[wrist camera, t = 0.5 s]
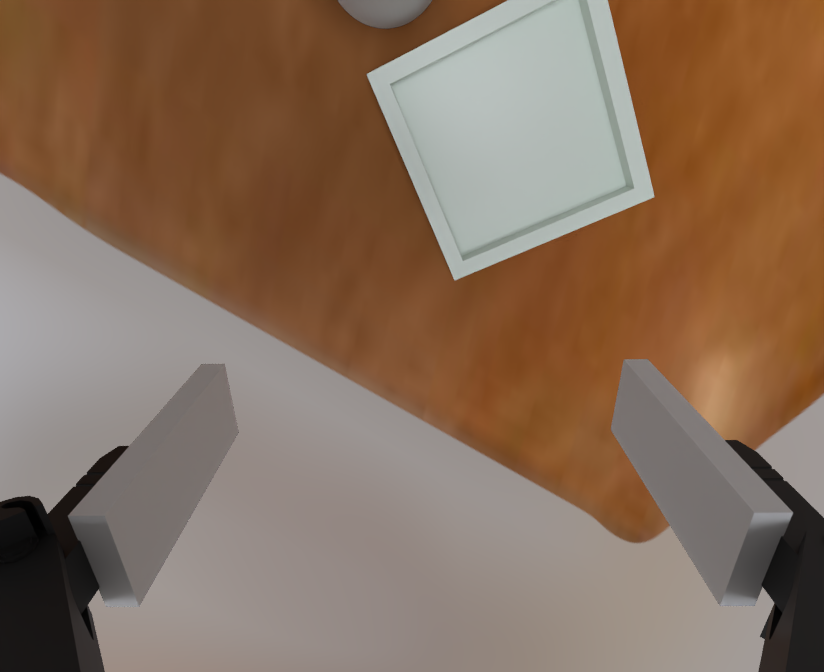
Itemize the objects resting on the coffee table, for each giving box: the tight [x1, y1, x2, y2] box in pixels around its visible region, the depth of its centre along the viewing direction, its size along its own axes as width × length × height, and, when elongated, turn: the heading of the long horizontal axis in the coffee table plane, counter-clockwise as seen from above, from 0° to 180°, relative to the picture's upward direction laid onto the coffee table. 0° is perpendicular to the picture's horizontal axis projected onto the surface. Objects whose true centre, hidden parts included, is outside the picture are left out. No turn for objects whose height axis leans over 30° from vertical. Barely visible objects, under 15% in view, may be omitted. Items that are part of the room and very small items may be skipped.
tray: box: [367, 0, 654, 280], centre depth 35 cm, size 16×16×2 cm
